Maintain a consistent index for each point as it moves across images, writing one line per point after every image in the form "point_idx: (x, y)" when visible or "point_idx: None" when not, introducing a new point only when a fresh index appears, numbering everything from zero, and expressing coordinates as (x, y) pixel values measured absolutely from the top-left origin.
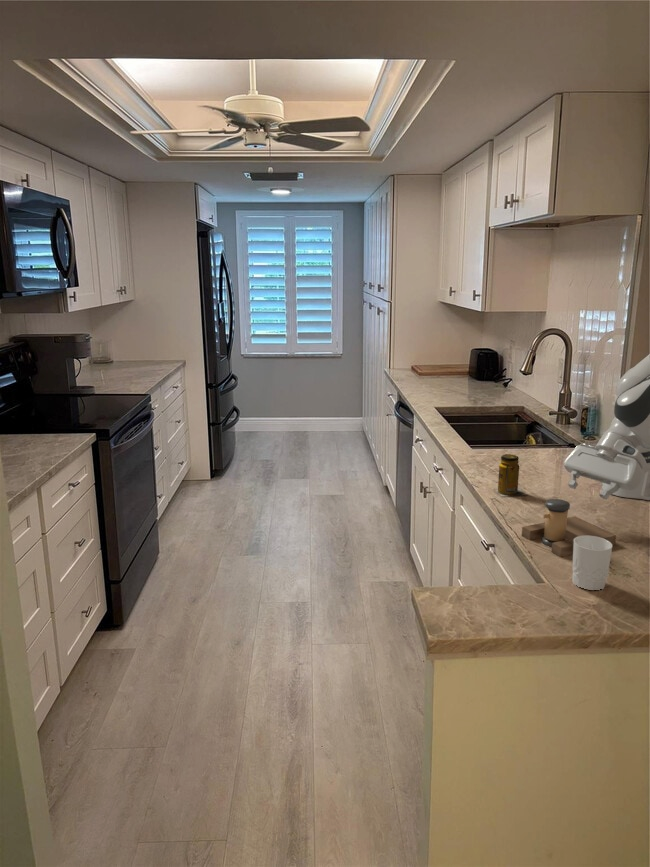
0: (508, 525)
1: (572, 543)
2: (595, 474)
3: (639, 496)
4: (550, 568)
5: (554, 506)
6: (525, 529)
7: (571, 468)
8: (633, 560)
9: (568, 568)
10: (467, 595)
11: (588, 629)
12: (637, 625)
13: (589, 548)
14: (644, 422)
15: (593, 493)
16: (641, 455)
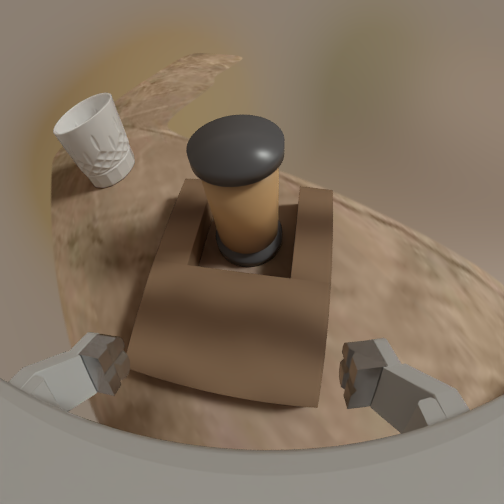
0: (395, 227)
1: (178, 214)
2: (157, 441)
3: None
4: (179, 155)
5: (220, 118)
6: (318, 189)
7: (489, 402)
8: (77, 312)
9: (156, 177)
10: (214, 73)
11: None
12: (56, 158)
13: (97, 139)
14: None
15: None
16: None
